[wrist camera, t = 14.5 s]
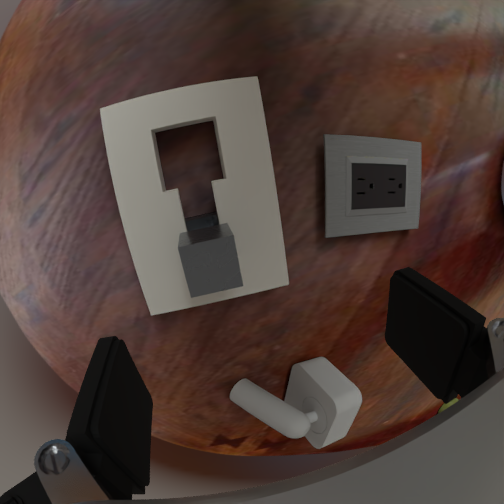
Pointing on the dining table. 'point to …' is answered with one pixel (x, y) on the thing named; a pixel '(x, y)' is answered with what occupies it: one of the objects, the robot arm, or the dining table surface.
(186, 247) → the keyhole peg
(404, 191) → the electrical outlet
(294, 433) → the wall hook
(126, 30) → the dining table surface
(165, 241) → the keyhole plate
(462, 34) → the dining table surface
